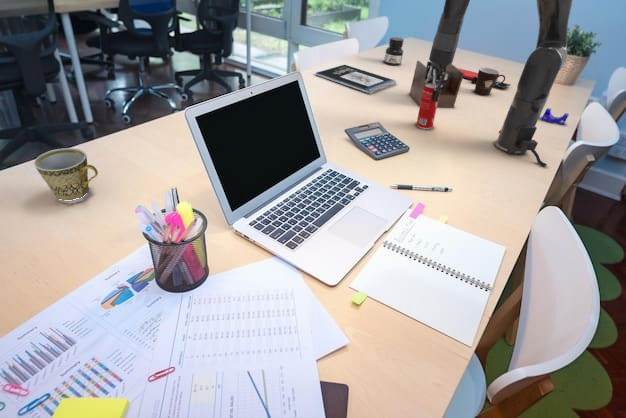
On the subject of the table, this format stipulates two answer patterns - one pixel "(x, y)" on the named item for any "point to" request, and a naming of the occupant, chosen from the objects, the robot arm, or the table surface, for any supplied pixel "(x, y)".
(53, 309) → the table surface
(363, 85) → the sketchbook
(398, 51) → the ink bottle
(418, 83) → the shelf
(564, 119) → the cable holder
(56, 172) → the ceramic cup
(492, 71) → the coffee mug
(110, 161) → the table surface
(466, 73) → the red board with handle
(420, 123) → the beverage can
